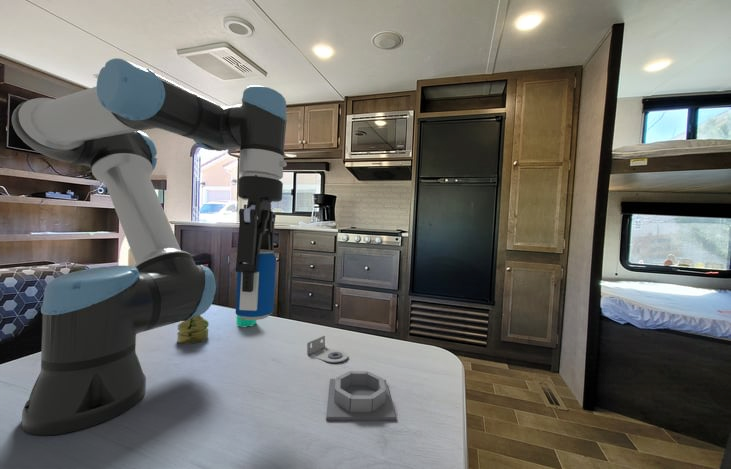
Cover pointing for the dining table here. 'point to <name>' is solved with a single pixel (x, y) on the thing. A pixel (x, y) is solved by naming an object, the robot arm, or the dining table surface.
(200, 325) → the yellow knotted piece
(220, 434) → the dining table surface
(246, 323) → the candle
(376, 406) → the cup holder
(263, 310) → the beverage can
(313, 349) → the bracket
